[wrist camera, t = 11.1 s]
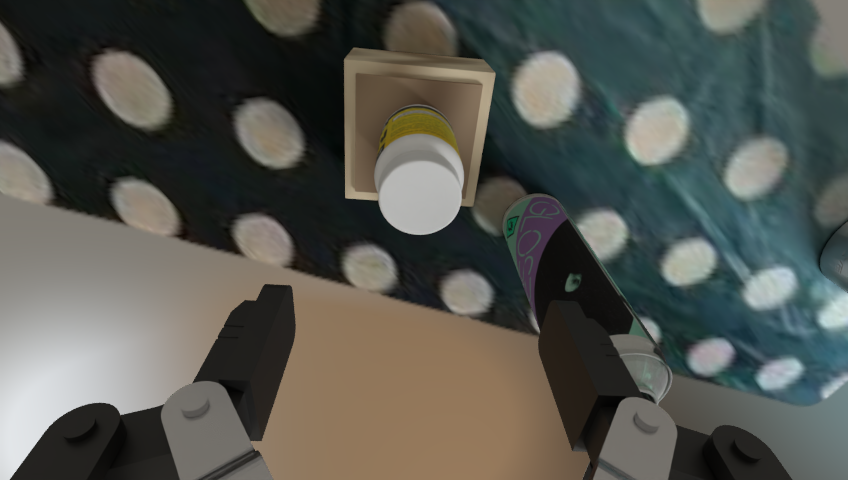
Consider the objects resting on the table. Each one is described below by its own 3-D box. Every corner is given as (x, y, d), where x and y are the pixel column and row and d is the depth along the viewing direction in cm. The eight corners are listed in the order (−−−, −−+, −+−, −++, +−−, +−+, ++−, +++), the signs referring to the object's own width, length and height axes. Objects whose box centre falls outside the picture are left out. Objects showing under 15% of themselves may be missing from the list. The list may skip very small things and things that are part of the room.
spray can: (526, 182, 35) (640, 378, 18) (578, 210, 36) (729, 415, 19) (489, 232, 37) (558, 448, 20) (539, 256, 39) (642, 476, 22)
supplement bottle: (374, 107, 26) (360, 156, 19) (450, 97, 26) (467, 143, 18) (387, 179, 28) (379, 247, 21) (457, 171, 28) (473, 236, 21)
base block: (483, 59, 29) (496, 74, 25) (465, 178, 34) (473, 208, 30) (353, 47, 29) (343, 60, 24) (353, 170, 34) (344, 200, 29)
